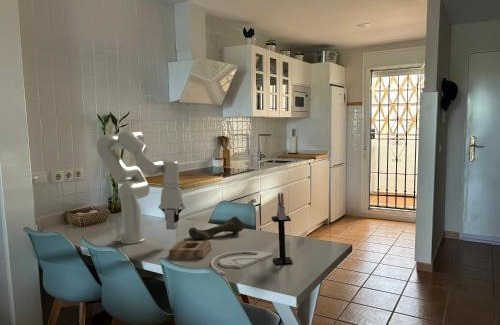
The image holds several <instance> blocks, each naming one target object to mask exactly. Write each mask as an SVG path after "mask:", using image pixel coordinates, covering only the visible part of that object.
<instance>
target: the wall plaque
mask: <svg viewBox="0 0 500 325" xmlns="http://www.w3.org/2000/svg"><path fill="white" fill-rule="evenodd" d="M242 253H250V255H243V254H242ZM233 254H235V255H236V256H234V255H233ZM255 254H256V255H255ZM228 255H229V256H230V257H229V256H228ZM238 255H239V256H238ZM224 257H225V258H224ZM271 257H274V253H273V252H272V253H271V252H266V251H257V250H237V251H229V252H224V253H221V254H219V255H216V256H214V257H213V258H211V260H210V267H211V269H212V268H213V269H215V270H217V271H219V272H220V273H221V274H222V276H225V275H226V272H225V271H223V270H221V269H219V268H217V267H216V266H215V265H214V264H215V263H216V261H217V260H219V262H218V263H219V266H220V267H222V268H227V269H228V268H232V269H233V268H234V269H243V268H247V267H249V266H251V265H255V264H256V263H258V262H259V261H264V260H268V259H269V258H271ZM213 269H212V270H213ZM221 274H220V275H221Z"/></svg>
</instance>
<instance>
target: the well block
mask: <svg viewBox="0 0 500 325" xmlns="http://www.w3.org/2000/svg"><path fill="white" fill-rule="evenodd" d="M211 250H212V241H211V240H210V241H208V240H199V241H198V240H179V241H178V242H176V243H175V244H174V245H173V246H171V247H170V248H169V249H168V256H169V258H168V259H175V260H176V259H181V260H182V259H184V260H189V259H190V260H192V259H194V260H195V259H196V260H197V259H199V260H201V259H202V260H204V259H205V257H206V256H207V255H208V254H209V253H210V252H211Z"/></svg>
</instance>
